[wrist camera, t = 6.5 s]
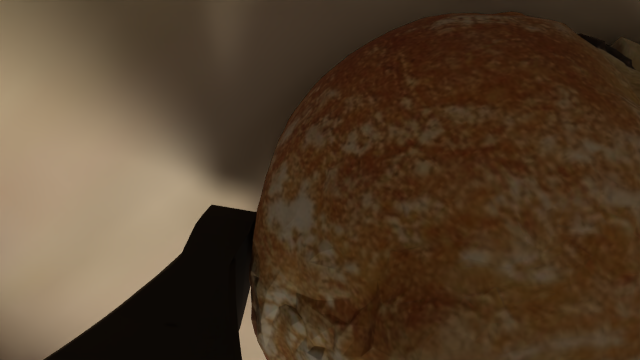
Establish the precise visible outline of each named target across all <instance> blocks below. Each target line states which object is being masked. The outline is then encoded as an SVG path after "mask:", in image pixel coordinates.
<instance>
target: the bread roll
mask: <svg viewBox="0 0 640 360" xmlns="http://www.w3.org/2000/svg"><path fill="white" fill-rule="evenodd" d="M249 281H250V285H251V302H252V314H251V320H252V324H253V328H254V332H255V335H256V337H257V341H258V343H259V345H260V347H261V348H262V350H263V352H264V355H265V357H266V359H267V360H640V44H638V43H636V42H633V41H631V40H628V39H626V38H623V37H621V38H619V39H618V40H617V41H616V42H615V43H614V44H612V45H611V46H608V45H606V44H605V42H604V41H602V40H599V39H596V38H592V37H589V36H586V35H583V34H575V33H574V32H573V31H572V30H571V29H570V28H569V27H568V26H567V25H566V24H564V23H560V22H557V21H554V20H548V19H542V18H536V17H530V16H525V15H523V14H522V13H517V12H512V11H511V12H505V13H498V14H478V13H453V14H444V15H438V16H432V17H425V18H422V19H419V20H417V21H414V22H412V23H409V24H407V25H404V26H402V27H399V28H397V29H394V30H392V31H389V32H388V33H386V34H384V35H382V36H380V37H378V38H377V39H375V40H373V41H371V42H369V43H368V44H366V45H364V46H363V47H361V48H359V49H358V50H356V51H355V52H353V53H351V54H350V55H348V56H347V57H346V58H345V59H344V60H342V61H341V62H340V63H339V64H338V65H337V66H335V67H334V68H333V69H331V70H330V71H329V72H328V73H327V74H326V75H324V76H323V77H322V78H321V79H320V80H319V81H318V82H317V83H316V84H315V85H314V86H313V87H312V89H311V90H310V92H309V93H308V94H307V95H306V97H305V98H304V99H303V100H302V102H301V103H300V104H299V106H298V107H297V108H296V110H295V111H294V113H293V114H292V115H291V117H290V118H289V120H288V122H287V125H286V127H285V130H284V131H283V133H282V135H281V136H280V138H279V141H278V144H277V147H276V149H275V152H274V155H273V158H272V161H271V164H270V167H269V170H268V172H267V175H266V179H265V183H264V187H263V191H262V195H261V199H260V202H259V205H258V208H257V216H256V223H255V229H254V236H253V245H252V254H251V261H250V266H249Z"/></svg>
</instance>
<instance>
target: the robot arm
mask: <svg viewBox="0 0 640 360" xmlns="http://www.w3.org/2000/svg"><path fill="white" fill-rule="evenodd" d="M256 216H257V212H252V211H246V210H240V209H234V208H228V207H222V206H216V205H211V206H210V207H209V208H208V209H207V210H206V212H205V213H204V214H203V215H202V216H201V218H200V219H199V220H198V222H197V223H196V225H195V227H194V229H193V231H192V233H191V235H190V237H189V239H188V241H187V243H186V245H185V247H184V250H183V252H182V253H181V254H180V255H179V256H178V257H177V258H176V259H175V260H174V261H173V262H171V263H170V264H169V265H168V266H167V267H166V268H165V269H164V270H163V271H161V272H160V273H159V274H158V275H157V276H156V277H155V278H153V279H152V280H151V281H150V282H148V283H147V284H146V285H145V286H143V287H142V288H141V289H140V290H139V291H137V292H136V293H135V294H134V295H132V296H131V297H130V298H129V299H128V300H126V301H125V302H124V303H123V304H121V305H120V306H119V307H117V308H116V309H115V310H114V311H112V312H111V313H110V314H108V315H107V316H106V317H104V318H103V319H102V320H100V321H99V322H97V323H96V324H95V325H93V326H92V327H91V328H89V329H88V330H86V331H85V332H84V333H82V334H81V335H79V336H78V337H76V338H75V339H74V340H72V341H71V342H69V343H68V344H66V345H65V346H64V347H62V348H61V349H59V350H58V351H56V352H55V353H53V354H51V355H50V356H48V357H47V358H45V359H44V360H242V356H241V348H240V340H239V329H240V326H241V322H242V318H243V314H244V310H245V306H246V302H247V298H248V294H249V290H250V286H251V285H250V281H249V266H250V261H251V254H252V245H253V236H254V229H255V223H256Z"/></svg>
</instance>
